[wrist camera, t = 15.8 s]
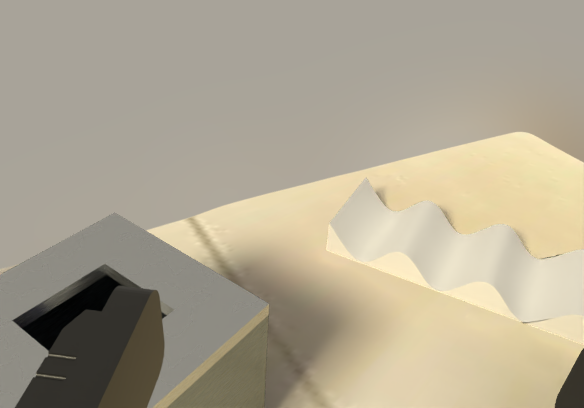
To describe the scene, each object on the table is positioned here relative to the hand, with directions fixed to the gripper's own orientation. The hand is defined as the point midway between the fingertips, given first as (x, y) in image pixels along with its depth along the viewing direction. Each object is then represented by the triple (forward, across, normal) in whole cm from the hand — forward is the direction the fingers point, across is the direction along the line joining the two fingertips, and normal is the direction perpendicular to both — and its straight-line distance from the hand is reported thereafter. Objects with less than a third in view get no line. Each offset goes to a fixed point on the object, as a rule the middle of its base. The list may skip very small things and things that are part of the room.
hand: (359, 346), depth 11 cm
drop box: (+19, +17, +38) cm, 46 cm away
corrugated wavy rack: (+49, -18, +39) cm, 65 cm away
